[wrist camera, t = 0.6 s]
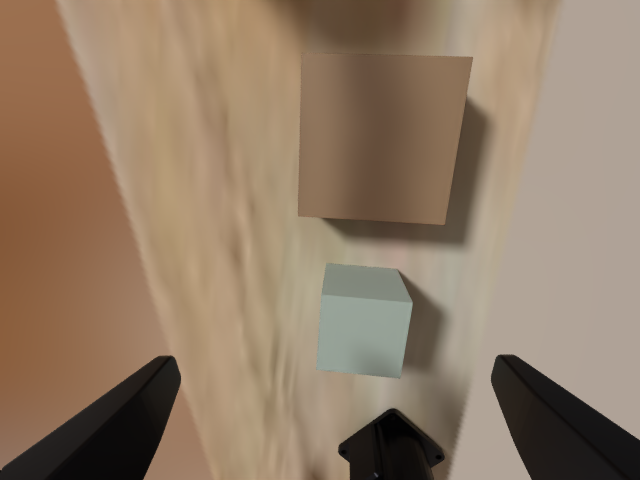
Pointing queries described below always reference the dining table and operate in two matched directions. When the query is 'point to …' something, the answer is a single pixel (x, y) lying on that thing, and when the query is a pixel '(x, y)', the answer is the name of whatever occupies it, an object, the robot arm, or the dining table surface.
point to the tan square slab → (379, 135)
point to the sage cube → (363, 321)
